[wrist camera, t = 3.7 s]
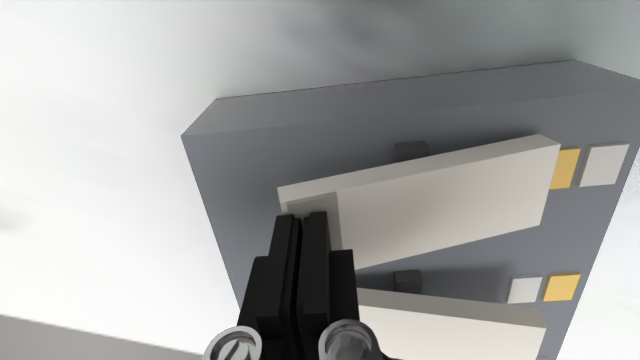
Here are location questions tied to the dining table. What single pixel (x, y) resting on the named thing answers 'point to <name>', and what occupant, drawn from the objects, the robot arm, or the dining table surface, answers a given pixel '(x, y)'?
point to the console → (422, 141)
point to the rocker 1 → (430, 199)
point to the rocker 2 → (450, 327)
